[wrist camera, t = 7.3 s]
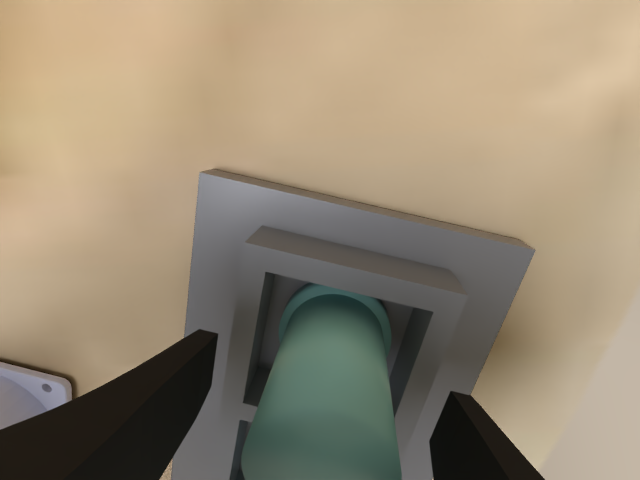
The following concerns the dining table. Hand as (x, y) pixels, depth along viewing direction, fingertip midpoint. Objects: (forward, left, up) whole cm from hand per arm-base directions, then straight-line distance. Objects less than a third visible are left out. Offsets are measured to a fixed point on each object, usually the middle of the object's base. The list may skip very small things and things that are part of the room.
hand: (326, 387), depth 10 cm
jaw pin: (0, 0, -3) cm, 3 cm away
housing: (0, -3, -4) cm, 5 cm away
